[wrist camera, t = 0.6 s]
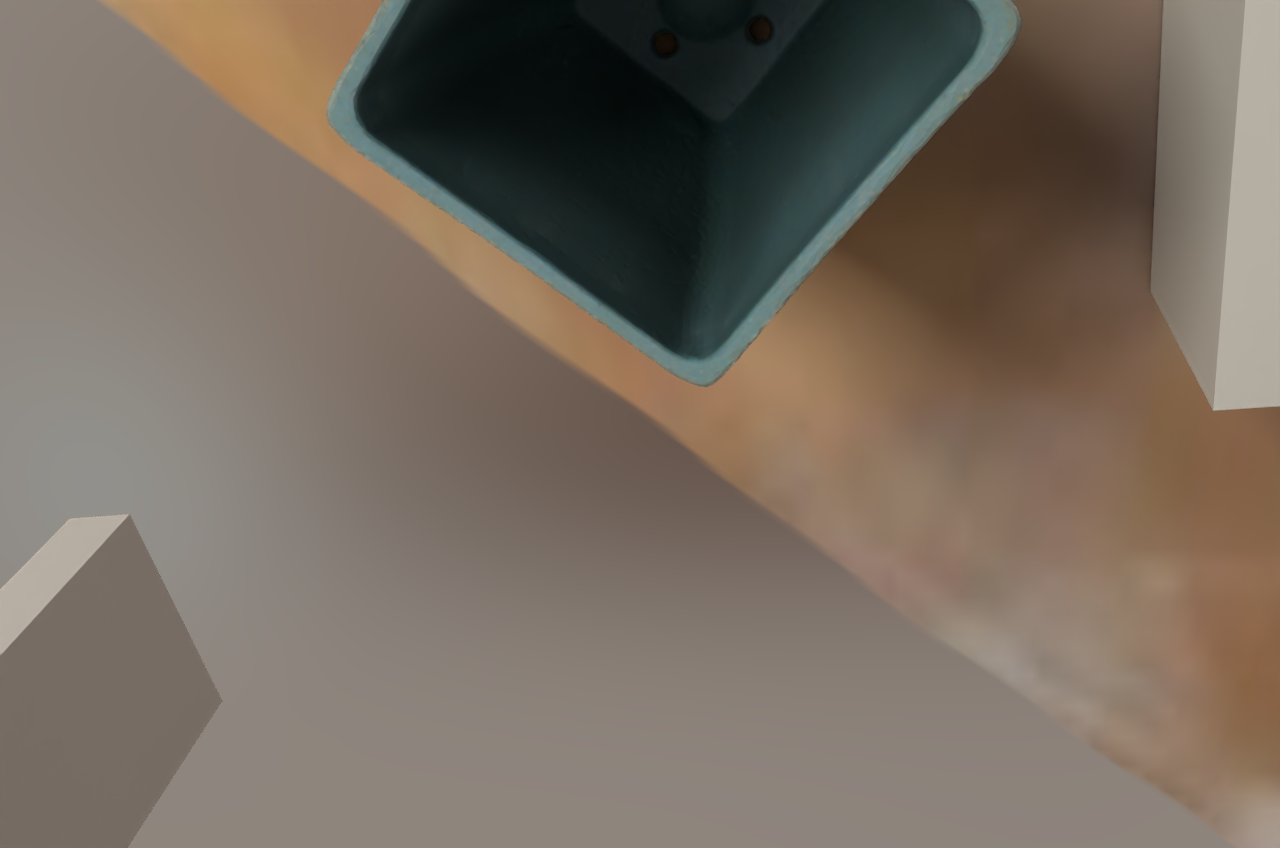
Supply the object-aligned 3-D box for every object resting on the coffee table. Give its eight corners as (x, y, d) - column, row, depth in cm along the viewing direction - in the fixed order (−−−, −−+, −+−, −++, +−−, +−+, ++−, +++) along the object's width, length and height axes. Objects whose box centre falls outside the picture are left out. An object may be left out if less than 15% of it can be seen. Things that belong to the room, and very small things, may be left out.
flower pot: (663, -334, 24) (575, -364, 16) (984, -65, 26) (1039, 23, 18) (456, 18, 28) (311, 124, 21) (742, 230, 30) (704, 400, 22)
